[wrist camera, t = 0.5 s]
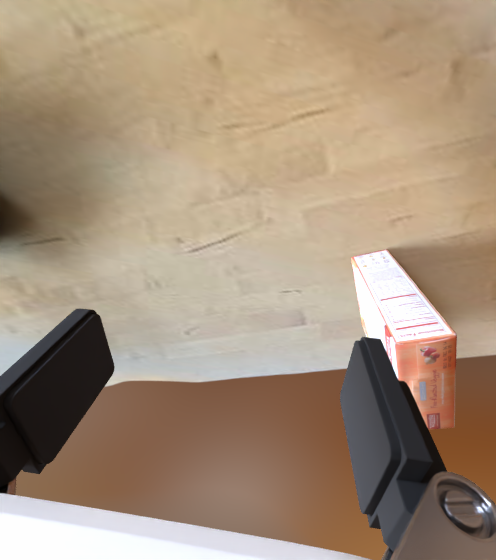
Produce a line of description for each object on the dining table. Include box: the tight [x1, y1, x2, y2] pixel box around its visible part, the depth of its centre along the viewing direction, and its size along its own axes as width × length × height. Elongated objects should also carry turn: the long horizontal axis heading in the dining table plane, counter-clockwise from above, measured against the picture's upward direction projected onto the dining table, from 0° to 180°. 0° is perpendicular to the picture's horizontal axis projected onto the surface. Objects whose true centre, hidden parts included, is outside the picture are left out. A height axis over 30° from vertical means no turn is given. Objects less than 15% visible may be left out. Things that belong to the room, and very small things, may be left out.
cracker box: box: [351, 250, 457, 429], centre depth 39 cm, size 14×6×21 cm, turn 17°
